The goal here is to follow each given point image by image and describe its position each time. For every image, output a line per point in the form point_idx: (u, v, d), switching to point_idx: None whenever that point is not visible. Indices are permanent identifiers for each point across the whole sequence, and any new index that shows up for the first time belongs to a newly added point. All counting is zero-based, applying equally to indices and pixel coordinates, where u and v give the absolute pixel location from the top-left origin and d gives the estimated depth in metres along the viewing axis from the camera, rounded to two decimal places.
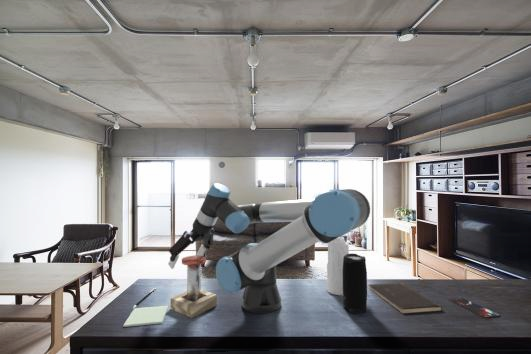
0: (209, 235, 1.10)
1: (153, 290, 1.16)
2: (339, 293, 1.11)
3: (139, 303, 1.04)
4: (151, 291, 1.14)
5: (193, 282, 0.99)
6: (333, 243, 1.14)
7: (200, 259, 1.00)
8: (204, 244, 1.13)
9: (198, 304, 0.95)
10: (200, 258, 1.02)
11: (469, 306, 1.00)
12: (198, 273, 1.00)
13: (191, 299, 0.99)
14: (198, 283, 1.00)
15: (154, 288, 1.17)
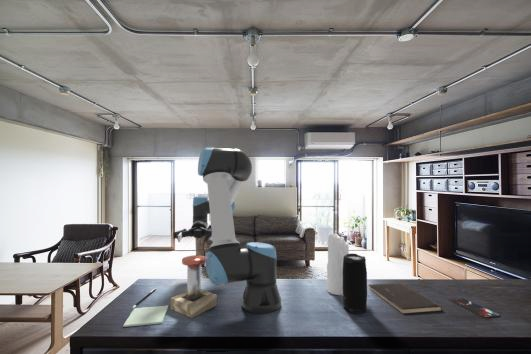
0: None
1: (154, 290, 1.16)
2: (339, 293, 1.11)
3: (139, 303, 1.04)
4: (151, 291, 1.14)
5: (194, 282, 0.99)
6: (333, 243, 1.14)
7: (200, 259, 1.00)
8: None
9: (198, 304, 0.95)
10: (200, 258, 1.01)
11: (469, 306, 1.00)
12: (198, 273, 1.00)
13: (191, 300, 0.99)
14: (198, 283, 1.00)
15: (155, 288, 1.17)
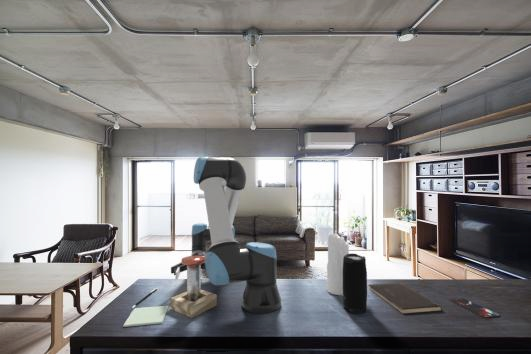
0: None
1: (154, 290, 1.16)
2: (339, 293, 1.11)
3: (139, 303, 1.04)
4: (152, 291, 1.14)
5: (193, 282, 0.99)
6: (333, 243, 1.14)
7: (200, 259, 1.00)
8: None
9: (198, 304, 0.95)
10: (200, 258, 1.02)
11: (469, 306, 1.00)
12: (198, 273, 1.00)
13: (191, 299, 0.99)
14: (198, 283, 1.00)
15: (155, 288, 1.17)
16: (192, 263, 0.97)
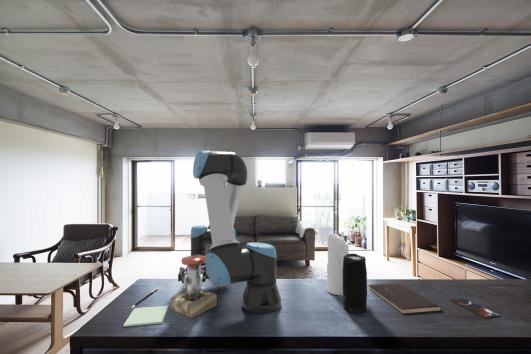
0: None
1: (155, 290, 1.16)
2: (339, 293, 1.11)
3: (138, 303, 1.04)
4: (153, 291, 1.14)
5: (193, 282, 0.99)
6: (333, 243, 1.14)
7: (200, 259, 1.00)
8: None
9: (198, 304, 0.95)
10: (200, 258, 1.02)
11: (469, 306, 1.00)
12: (198, 273, 1.00)
13: (191, 299, 0.99)
14: (198, 283, 1.00)
15: (156, 288, 1.17)
16: (192, 263, 0.97)
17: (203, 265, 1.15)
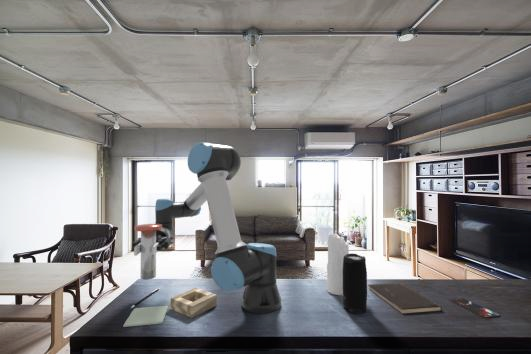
0: None
1: (156, 290, 1.16)
2: (339, 293, 1.11)
3: (138, 303, 1.04)
4: (153, 291, 1.14)
5: (147, 250, 0.93)
6: (333, 243, 1.14)
7: (154, 226, 0.94)
8: None
9: (198, 304, 0.95)
10: (155, 225, 0.95)
11: (469, 306, 1.00)
12: (152, 241, 0.94)
13: (144, 268, 0.93)
14: None
15: (157, 288, 1.17)
16: (144, 229, 0.91)
17: (164, 236, 1.08)
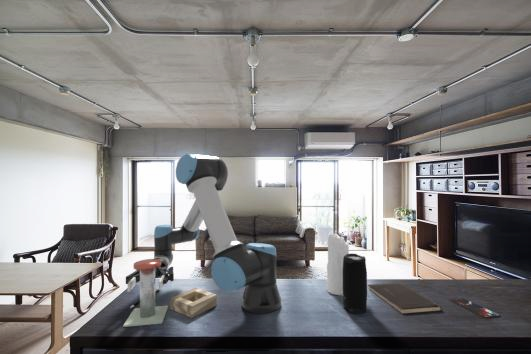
0: (169, 272, 1.04)
1: (157, 290, 1.16)
2: (339, 293, 1.11)
3: (138, 303, 1.04)
4: None
5: (146, 288, 0.92)
6: (333, 243, 1.14)
7: (153, 263, 0.93)
8: None
9: (198, 304, 0.95)
10: (154, 262, 0.95)
11: (469, 306, 1.00)
12: (151, 278, 0.93)
13: (143, 307, 0.92)
14: (151, 289, 0.93)
15: None
16: (143, 268, 0.90)
17: (163, 267, 1.08)
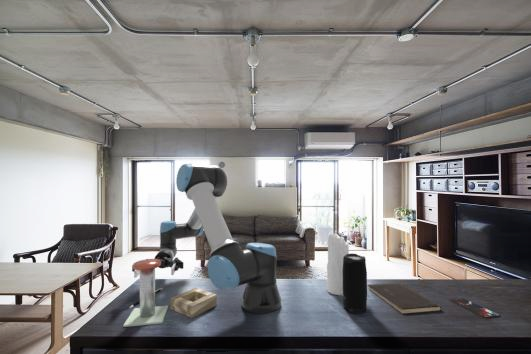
0: (175, 261, 1.18)
1: (158, 290, 1.16)
2: (339, 293, 1.11)
3: (137, 303, 1.04)
4: (155, 291, 1.14)
5: (146, 288, 0.92)
6: (333, 243, 1.14)
7: (153, 263, 0.93)
8: None
9: (198, 304, 0.95)
10: (154, 262, 0.95)
11: (469, 306, 1.00)
12: (151, 278, 0.93)
13: (143, 307, 0.92)
14: (151, 289, 0.93)
15: None
16: (143, 268, 0.90)
17: (168, 258, 1.20)
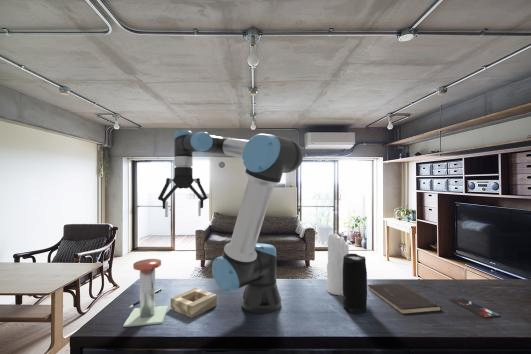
0: None
1: (158, 290, 1.15)
2: (339, 293, 1.11)
3: (137, 303, 1.04)
4: (155, 291, 1.14)
5: (146, 288, 0.92)
6: (333, 243, 1.14)
7: (153, 263, 0.93)
8: (200, 199, 1.17)
9: (198, 304, 0.95)
10: (154, 262, 0.95)
11: (469, 306, 1.00)
12: (151, 278, 0.93)
13: (143, 307, 0.92)
14: (151, 289, 0.93)
15: None
16: (143, 268, 0.90)
17: (189, 179, 1.15)
